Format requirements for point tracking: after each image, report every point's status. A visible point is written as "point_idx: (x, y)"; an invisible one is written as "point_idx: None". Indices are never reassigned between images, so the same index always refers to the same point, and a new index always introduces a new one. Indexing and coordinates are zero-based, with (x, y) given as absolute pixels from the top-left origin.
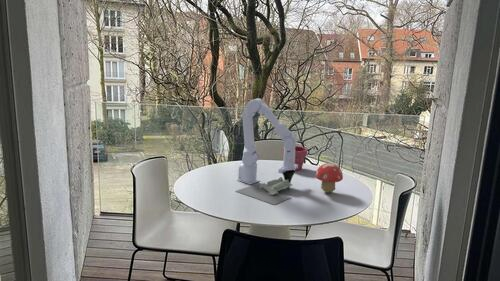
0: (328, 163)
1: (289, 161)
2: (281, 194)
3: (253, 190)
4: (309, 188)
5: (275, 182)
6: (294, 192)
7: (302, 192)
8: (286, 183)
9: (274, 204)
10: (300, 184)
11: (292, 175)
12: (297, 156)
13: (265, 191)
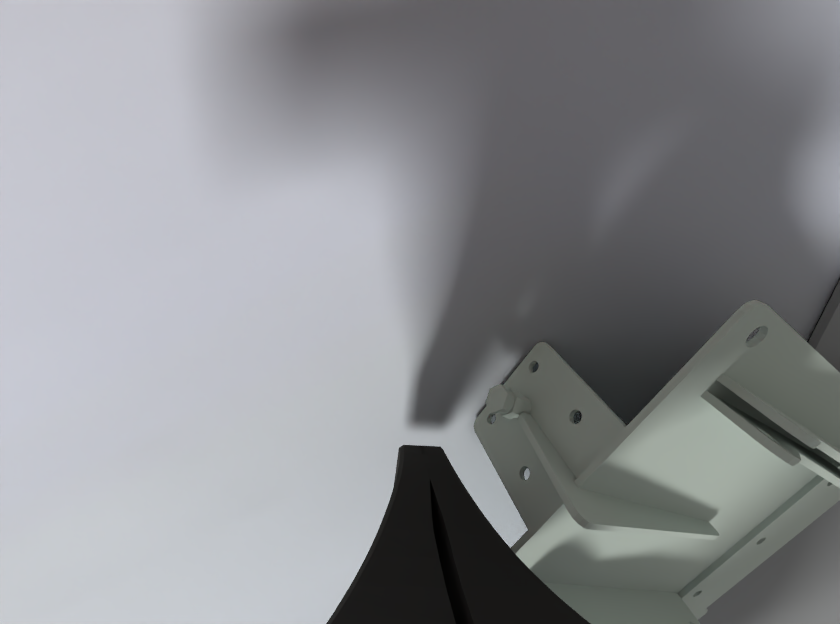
0: None
1: None
2: (830, 326)
3: (806, 608)
4: (184, 96)
5: (615, 597)
6: (604, 227)
7: (521, 102)
8: (802, 428)
9: None
10: (130, 354)
11: (396, 587)
12: None
13: None
